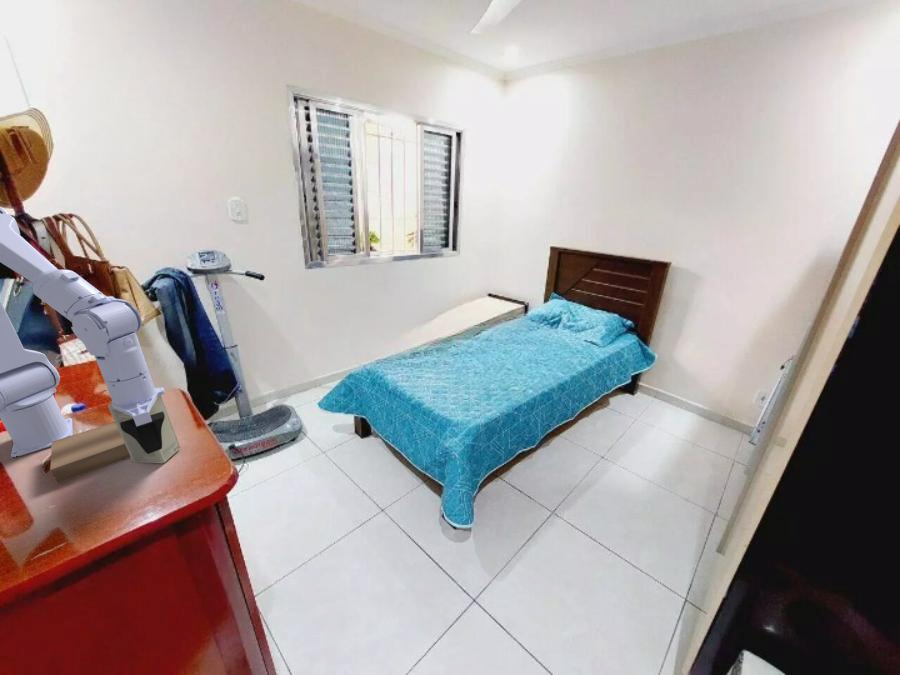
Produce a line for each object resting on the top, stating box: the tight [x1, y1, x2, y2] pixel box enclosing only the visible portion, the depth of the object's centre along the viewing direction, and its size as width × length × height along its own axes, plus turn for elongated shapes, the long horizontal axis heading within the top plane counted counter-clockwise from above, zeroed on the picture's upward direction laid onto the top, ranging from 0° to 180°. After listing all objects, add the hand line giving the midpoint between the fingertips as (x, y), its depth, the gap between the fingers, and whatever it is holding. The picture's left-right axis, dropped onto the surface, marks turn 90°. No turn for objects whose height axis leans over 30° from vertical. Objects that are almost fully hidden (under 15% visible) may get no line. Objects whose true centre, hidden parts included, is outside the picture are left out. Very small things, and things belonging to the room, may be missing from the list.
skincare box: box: [107, 395, 182, 464], centre depth 64 cm, size 6×4×12 cm
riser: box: [49, 421, 131, 485], centre depth 66 cm, size 10×10×3 cm
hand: (151, 440), depth 65 cm, fingers closed on skincare box, 7 cm apart
